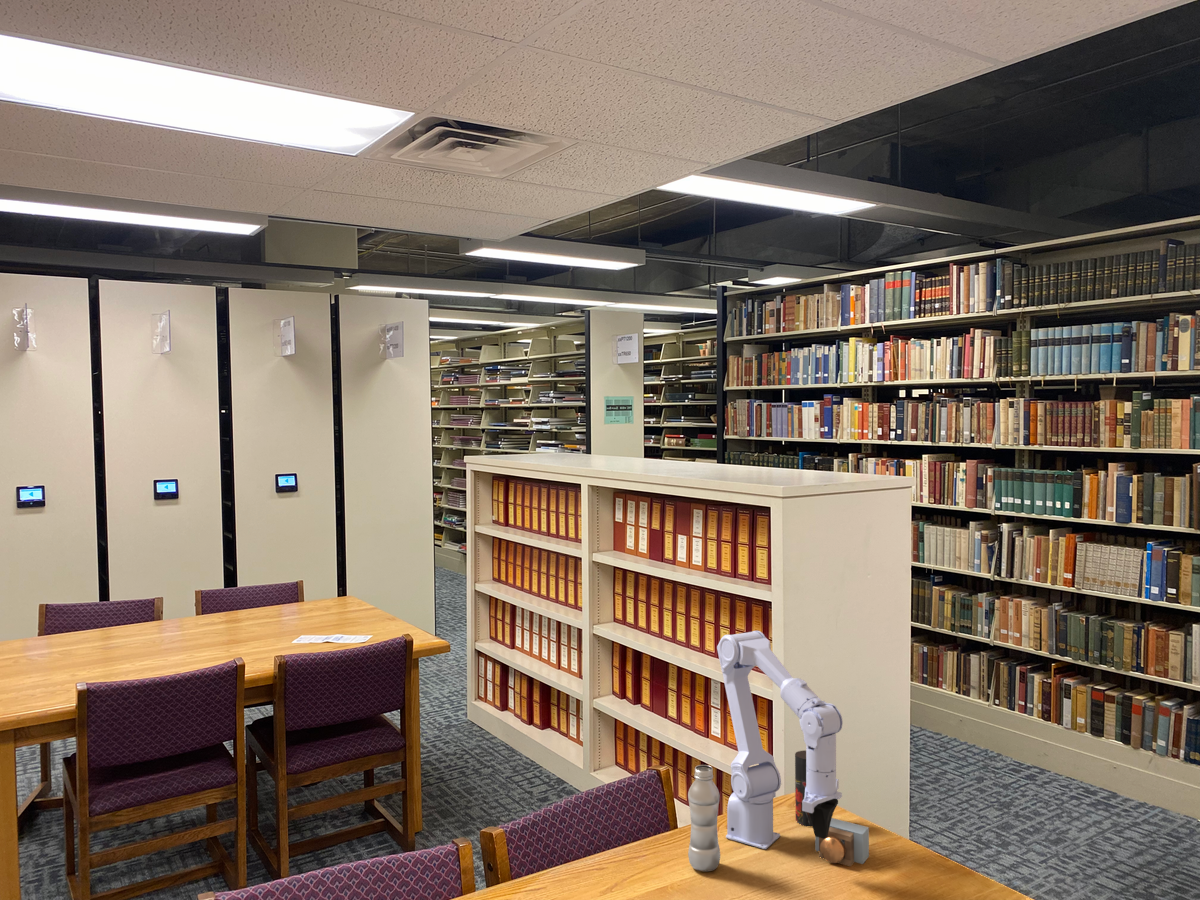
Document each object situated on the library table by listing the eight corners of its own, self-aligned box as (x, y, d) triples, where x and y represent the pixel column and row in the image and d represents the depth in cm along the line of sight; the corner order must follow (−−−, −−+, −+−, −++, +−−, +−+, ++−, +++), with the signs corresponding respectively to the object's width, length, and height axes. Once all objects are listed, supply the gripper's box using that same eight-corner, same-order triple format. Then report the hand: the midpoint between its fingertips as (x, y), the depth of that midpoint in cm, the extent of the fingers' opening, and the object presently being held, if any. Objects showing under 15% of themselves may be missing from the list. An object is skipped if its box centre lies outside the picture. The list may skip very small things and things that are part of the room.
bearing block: (815, 850, 173) (815, 822, 173) (822, 843, 177) (821, 815, 177) (862, 864, 167) (862, 834, 168) (868, 856, 171) (868, 827, 171)
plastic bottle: (724, 863, 168) (724, 764, 168) (714, 878, 162) (714, 776, 162) (694, 857, 171) (693, 760, 171) (683, 872, 164) (683, 771, 165)
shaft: (843, 866, 166) (842, 842, 166) (820, 859, 168) (819, 835, 169) (860, 845, 175) (860, 822, 175) (838, 839, 177) (838, 816, 177)
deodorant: (823, 828, 184) (822, 760, 184) (795, 825, 185) (795, 758, 186) (821, 816, 190) (821, 751, 190) (795, 814, 191) (794, 749, 191)
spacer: (819, 857, 170) (818, 828, 171) (822, 853, 172) (822, 824, 172) (850, 866, 167) (850, 836, 167) (853, 862, 168) (853, 833, 168)
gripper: (827, 783, 155) (827, 856, 155) (853, 760, 167) (853, 828, 166) (792, 775, 159) (791, 846, 159) (819, 753, 171) (819, 819, 171)
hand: (821, 836), depth 163 cm, fingers closed
